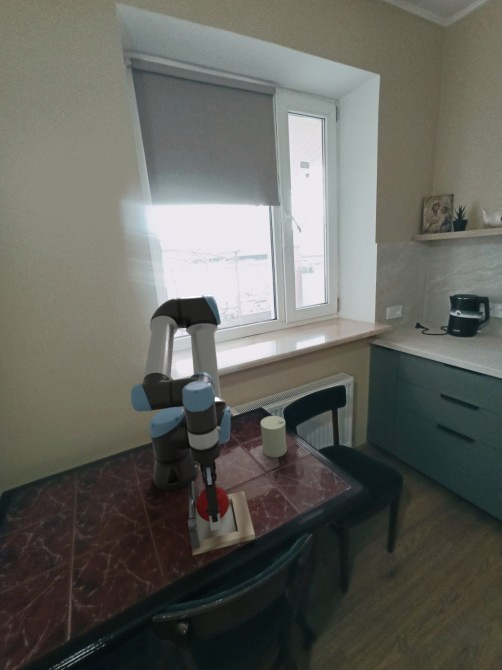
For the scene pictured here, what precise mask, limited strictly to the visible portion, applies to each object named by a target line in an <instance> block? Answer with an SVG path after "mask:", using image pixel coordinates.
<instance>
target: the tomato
mask: <svg viewBox="0 0 502 670" xmlns="http://www.w3.org/2000/svg"><path fill="white" fill-rule="evenodd" d="M216 494H217V502H218V505H219V513H220V519H221V518H222V517H223V516H224V515H225V514H226V512H227V510H228V507H229V498H228V494H227V492H226V490H224V489H223V488H222V487H219V486H217V485H216ZM196 507H197V512H198V514H199V516H200V517H201V518H202V519H204V520H206V521H208V522H210V520H209V515H208V513H206V509H208V504H207V496H206V489H205V488H204V489H203V490H202V491H201V492H200V493H199V495H198V497H197V504H196Z"/></svg>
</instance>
